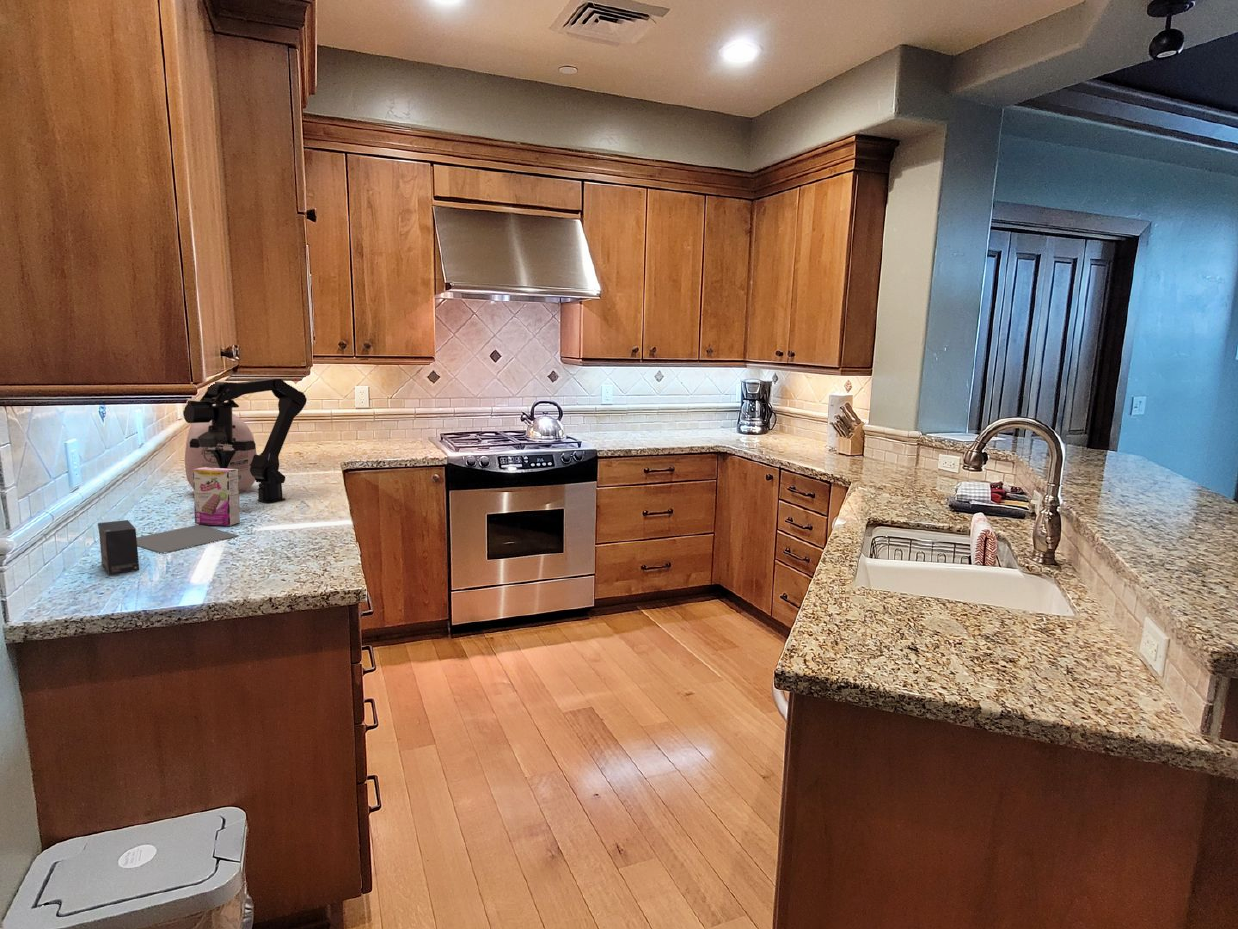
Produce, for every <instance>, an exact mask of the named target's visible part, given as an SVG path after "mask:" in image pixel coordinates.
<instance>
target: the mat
mask: <svg viewBox="0 0 1238 929" xmlns="http://www.w3.org/2000/svg"><path fill="white" fill-rule="evenodd" d="M237 536H239V537H240V535H238V534H235V533H231V532H228V531H224V530H222V529H221V530H220V529H218V528H214V527H209V526H208V525H207V526H206V525H204V524H195V525H191V526H187V527H180V528H177V529H171V530H167V531H162V532H157V533H152V534H148V535H141V536H139V537H138V536H136V538H137V547H139V548H142V549H145V550H148V551H151V552H153V553H157V552H159V553H158V554H160V553H164V552H169V553H173V552H172V551H174V552H177V550H178V551H181V550H180V549H182V550H185V549H184V548H187V547H191V546H195V547H199V546H198V545H200V546H203V545H202V544H204V545H207V544H206V543H209V544H211V543H210V542H213V543H215V542H214V541H217V542H219V541H218V540H222V541H226V540H229V539H233V537H235V538H238V537H237ZM191 548H192V547H191ZM187 549H188V548H187Z"/></svg>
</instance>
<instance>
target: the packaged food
mask: <svg viewBox="0 0 1238 929" xmlns="http://www.w3.org/2000/svg"><path fill="white" fill-rule="evenodd" d="M232 422H233V425H235V428H233V438H236V441H239V440H252V441H254V443H255V444H256V442H255V438H254V436H253V433H252V431H251V428H249V426H248V425H247V423H246V422H245V421H244V420H243V419H241V417H239V416H238V415H236V414H234V413H233V412H232ZM209 425H212V420H211V421H210V422H208V423H190V427H189V429H188V433H187V437H186V443H185V450H184V452H185V453H184V469H185V470H184V471H185V474H186V475H185V476H186V479H187V482H188V484H189V486H190V487H191V488H192V489H193V490H194V480H193V469H197V468H204V467H206V468H220V467H219V465H218V463H217V460H216V458H215V457H214V455H213V454H212V453H211V452H209V451H207V449H208V447H199V448H190V444H189V442H190V441H191V439H193V438H198V437H199V436H200V435H202V434H203V433H205V432H208V427H209ZM233 442H234V441H233ZM222 448H223V447H222ZM254 455H258V454H257V448H256V449H253V450H247V451H236V452H235V454H234V456H233V457H232V459H231V461H230V463H229V465H228V467H227V469H238V478H239V491H240V492H244V491H246V490H249V489H250V488H251V487H252V486H253V485H254V483H255V482H256V480H255V478H254V477H253V476H252V475H251V472H250V467H251V466H249V465H250V464H251V462H252V460H253V456H254Z"/></svg>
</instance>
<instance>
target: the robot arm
mask: <svg viewBox="0 0 1238 929" xmlns="http://www.w3.org/2000/svg"><path fill="white" fill-rule="evenodd" d="M214 382H215V384H213V385H211V386H210V387H208V386H207V390H206V391H205V393H204V394H203V396H201V398H200V400H187V401H188V402H187V401H186V403H187V404H186V405H185V407H184V409H183V412H182V413H183V418H184V420H185V422H186V423H188V424H192V423H208V422H210V421H211V420H212V425H209V427H208V432H205V433H203V434H202V435H200V436H199V437H198V438H193V439H191V441H190V442H189V444H190V448H199V447H208V449H207V451H209V452H211V453H212V454H213V455H214V457H215V458H216V460H217V463H218V465H219V467H220V468H224V469H227V467H228V465H229V463H230V461H231V459H232V457H233V456H234V454H235V452H236V451H247V450H253V449H256V450H257V445H256V442H255V443H254V441H255V440H254V441H252V440H239V441H236V438H233V428H235V425H233V422H232V413H233V408H236V409H237V408H239V407H240V405H239V404H238V403H236V402H235V399H238V398H239V397H241V396H244V395H249V394H257V393H262V392H269V391H270V392H272V394H273V395H274V397H276V399H278V403H277V407H278V414H277V418H276V420H275V422H274V424H273V427H272V429H271V431H270V434H269V436H268V439H267V442H266V444H265V446H264V448H263V451H262V452H261V453H259V454H257V455H254V456H253V460H252V462H251V464H250V465H249V466H251V467H250V472H251V475H252V476H253V477H254V478H255V482H256V483H258V488H257V494H258V498H257V499H256V500H258V501H257V502H262V503H267V504H270V503H274V502H280V501H281V502H282V501H286V498H285V497H283V485H282V484H284V483H285V481H286V476H285V475H284V474H283V473H282V472H281V471H279V469H280V459H279V455H280V453H281V451H282V448H283V446H284V443H285V440H286V439H287V436H288V433H289V432H290V428H291V426H292V424H293V421H294V420H295V419H294V418H296V417H297V415H298V414H300V413H301V412H302V411H303V409H304V407H305V406H306V404H307V397H306V395H305V393H304V392H302V391H300V390H298V389H297V388H295V387H293V386H292V385H290V384H288V383H286V382H285V381H284V380H283V379H281V378H280V379H268V378H263V379H255V380H248V381H247V380H246V381H239V382H233V381H232V382H229V381H214ZM233 441H234V442H233ZM222 447H223V448H222Z"/></svg>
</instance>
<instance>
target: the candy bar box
mask: <svg viewBox="0 0 1238 929" xmlns="http://www.w3.org/2000/svg"><path fill="white" fill-rule="evenodd" d="M193 480H194V489H193V500H194V502H193V503H194V504H193V506H194V524H195V525H204V526H206V525H207V526H209V525H210V526H222V527H223V526H226V527H227V526H228V527H230V526H235V525H237V523H238V524H240V523H241V521H240V518H241V517H240V492H239V478H238V469H224V468H206V467H204V468H197V469H193ZM239 522H240V523H239Z"/></svg>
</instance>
